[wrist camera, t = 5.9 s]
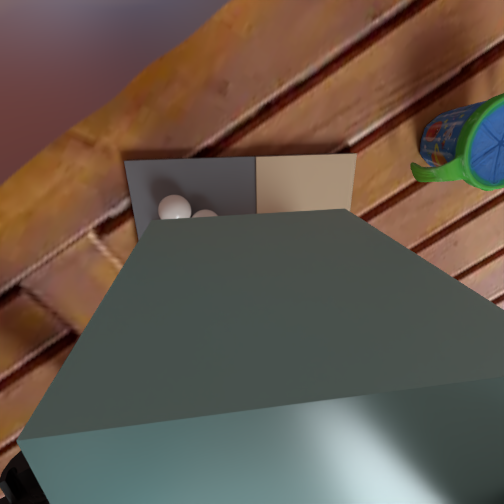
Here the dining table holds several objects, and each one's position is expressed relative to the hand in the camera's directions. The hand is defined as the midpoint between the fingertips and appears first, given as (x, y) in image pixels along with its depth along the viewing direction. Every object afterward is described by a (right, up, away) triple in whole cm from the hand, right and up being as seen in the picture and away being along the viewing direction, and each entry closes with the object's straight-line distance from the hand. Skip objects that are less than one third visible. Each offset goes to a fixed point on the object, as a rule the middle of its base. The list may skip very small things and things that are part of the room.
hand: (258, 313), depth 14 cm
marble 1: (-8, +7, +15) cm, 18 cm away
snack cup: (+20, +15, +17) cm, 30 cm away
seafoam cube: (0, +1, +1) cm, 1 cm away
